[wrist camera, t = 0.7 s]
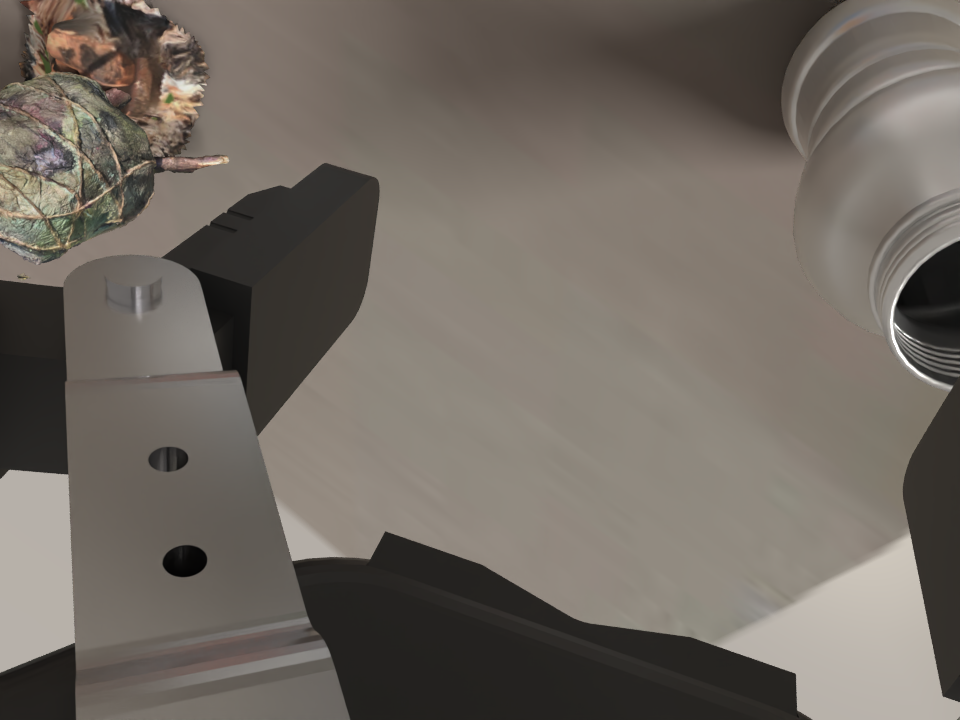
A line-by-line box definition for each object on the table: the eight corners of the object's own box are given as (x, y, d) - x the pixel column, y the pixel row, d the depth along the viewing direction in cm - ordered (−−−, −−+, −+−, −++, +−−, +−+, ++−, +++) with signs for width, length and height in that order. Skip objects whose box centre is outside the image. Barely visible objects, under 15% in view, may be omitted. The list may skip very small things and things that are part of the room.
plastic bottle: (1012, 69, 32) (1294, 327, 15) (848, 191, 36) (933, 508, 19) (899, -68, 31) (1072, 50, 14) (741, 72, 34) (731, 299, 18)
